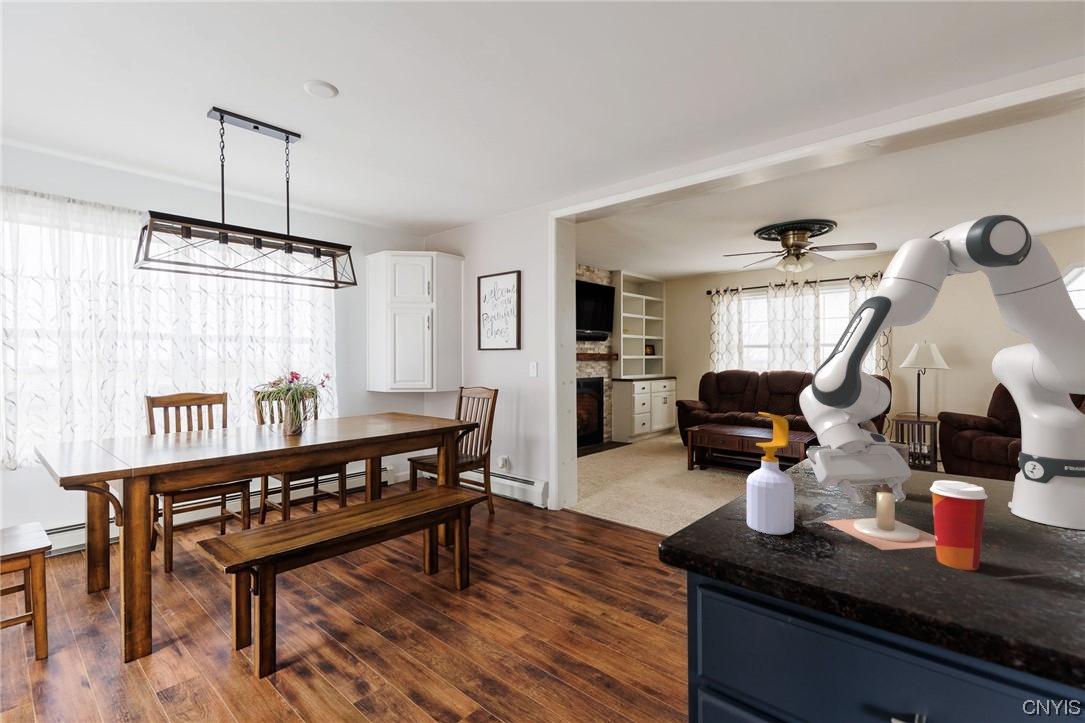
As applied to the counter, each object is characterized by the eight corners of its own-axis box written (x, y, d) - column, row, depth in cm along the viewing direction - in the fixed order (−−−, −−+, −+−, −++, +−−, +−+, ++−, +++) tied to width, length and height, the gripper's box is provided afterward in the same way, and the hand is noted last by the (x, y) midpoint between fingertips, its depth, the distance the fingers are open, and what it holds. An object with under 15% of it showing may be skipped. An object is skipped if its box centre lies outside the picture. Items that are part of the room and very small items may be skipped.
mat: (887, 518, 110) (887, 517, 110) (957, 546, 94) (957, 544, 94) (822, 522, 108) (822, 521, 108) (882, 552, 92) (882, 549, 92)
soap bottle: (737, 522, 108) (737, 410, 108) (773, 519, 110) (773, 409, 110) (766, 537, 99) (766, 415, 99) (803, 533, 102) (804, 414, 101)
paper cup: (958, 555, 90) (959, 479, 90) (999, 574, 82) (1000, 490, 82) (917, 556, 90) (918, 479, 89) (955, 575, 82) (955, 491, 82)
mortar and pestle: (890, 503, 121) (890, 422, 121) (854, 494, 129) (854, 418, 128) (915, 496, 127) (915, 419, 126) (879, 488, 134) (879, 415, 134)
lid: (886, 521, 107) (886, 485, 107) (934, 540, 96) (934, 500, 96) (841, 524, 105) (841, 488, 105) (884, 544, 94) (884, 503, 94)
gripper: (809, 438, 108) (842, 495, 98) (893, 435, 111) (933, 491, 101) (796, 454, 112) (826, 511, 103) (877, 451, 115) (913, 506, 106)
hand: (880, 501), depth 102 cm, fingers open, 8 cm apart
